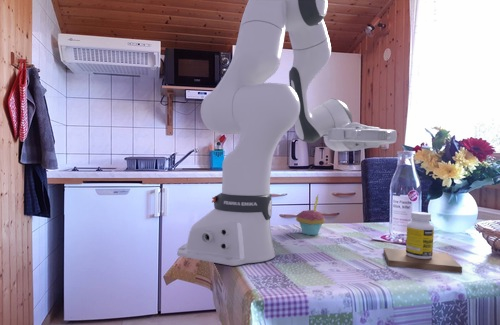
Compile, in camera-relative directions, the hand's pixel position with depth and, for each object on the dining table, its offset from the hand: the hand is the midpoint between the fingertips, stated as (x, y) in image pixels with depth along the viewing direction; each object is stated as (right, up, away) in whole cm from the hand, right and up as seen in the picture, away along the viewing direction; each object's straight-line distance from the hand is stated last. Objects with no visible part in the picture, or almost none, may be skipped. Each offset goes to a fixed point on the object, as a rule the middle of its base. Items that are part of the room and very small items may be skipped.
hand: (374, 134), depth 98 cm
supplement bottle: (+4, -29, -19) cm, 35 cm away
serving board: (+3, -30, -19) cm, 36 cm away
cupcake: (-16, -30, +9) cm, 35 cm away
